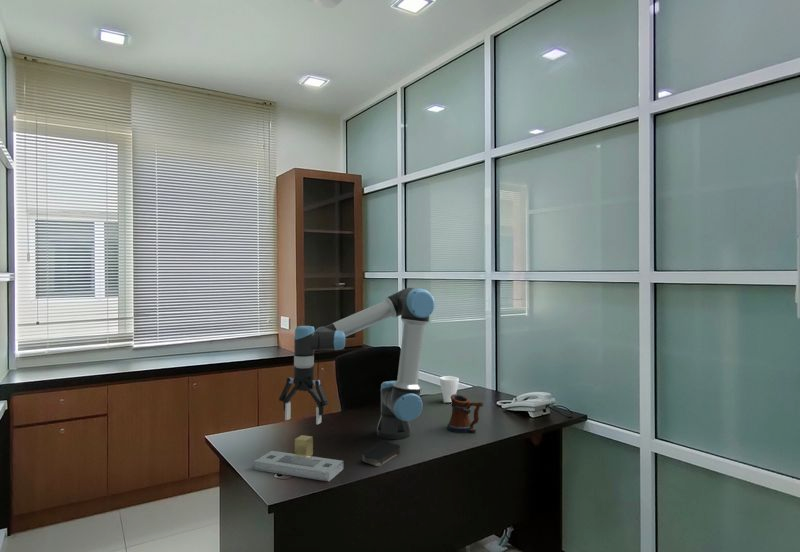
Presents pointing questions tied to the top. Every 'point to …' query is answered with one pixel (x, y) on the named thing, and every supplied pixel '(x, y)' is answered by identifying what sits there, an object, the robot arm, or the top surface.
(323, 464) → the rail
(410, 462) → the top surface
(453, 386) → the cup
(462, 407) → the mug
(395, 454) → the black sponge
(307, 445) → the yellow block
